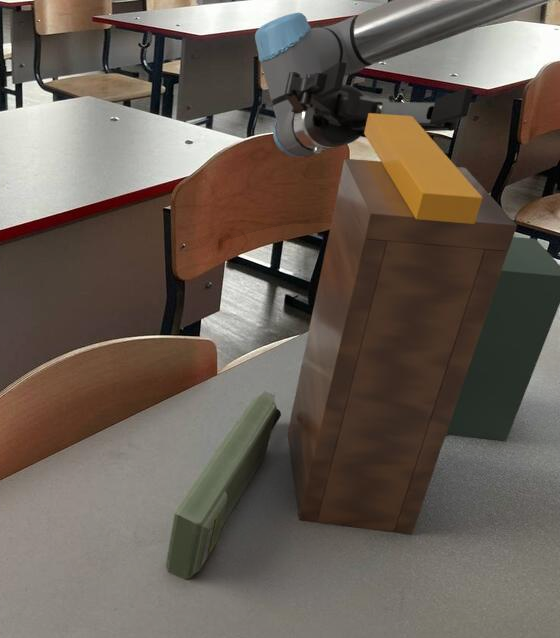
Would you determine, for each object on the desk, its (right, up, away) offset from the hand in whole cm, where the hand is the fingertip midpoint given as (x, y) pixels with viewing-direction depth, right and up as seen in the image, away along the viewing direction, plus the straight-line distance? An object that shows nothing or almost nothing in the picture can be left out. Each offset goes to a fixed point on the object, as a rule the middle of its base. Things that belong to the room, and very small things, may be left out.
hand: (404, 88), depth 78 cm
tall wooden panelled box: (-7, -40, -4) cm, 40 cm away
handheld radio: (-19, -40, -6) cm, 45 cm away
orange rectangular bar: (-6, -12, -15) cm, 20 cm away
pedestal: (+8, -34, +6) cm, 35 cm away
